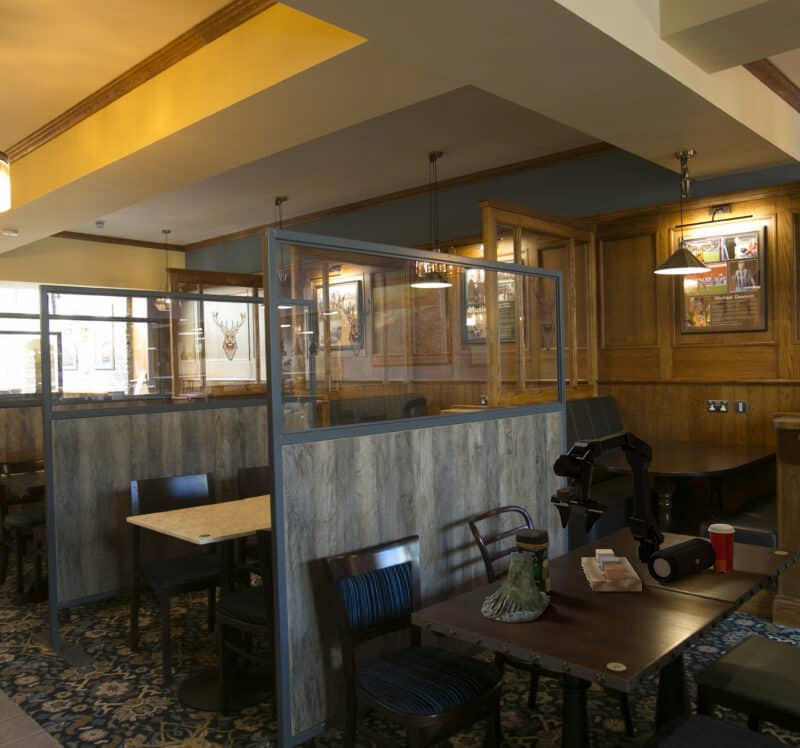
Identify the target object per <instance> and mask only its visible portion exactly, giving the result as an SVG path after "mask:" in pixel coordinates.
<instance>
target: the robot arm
mask: <svg viewBox="0 0 800 748" xmlns="http://www.w3.org/2000/svg"><path fill="white" fill-rule="evenodd" d="M618 447H619V449H620V450H621V451H622V452H623V454H624V455H625V460H626V463H627V464H628V466H629V468H630V469H631V474H632V475H631V476H632V488H633V501H634V514H633V516H631V517H629V520H628V522H629V531H630V532H631V535H632V538H633V541H634V542H638V544H637V545H636V556H637V559H638V560H639V561H640V563H648V560H649V558H650V557H651V555H652V554H653V553H654V552H656V551H658V550H661V549H660V545H662V544H664V542H665V536H664V534H663V533H662V532H661V531H660V529H659V527H658V522H657V519H656V517H655V516H654V515H653V512H652V509H651V495H650V482H649V468H650V465H651V464H652V462H653V449H652V446H650V444H648V443H647V442H646V441H644V440H642V439H640V438H639V437H637V436H636V435H635V434H633V432H630V431H622V430H620V431H618V432H615V433H612V434H609V435H606V436H602V437H598V438H596V439H595V438H594V439H577V440H576V441H575V442H574V444H573V446H572V447H571V448H570V450H569V451H568V453H567V454H563V453H562V454H559V457H558V458H557V459H555V461H554V463H553V464H552V470H553V472H554V474H555V476H557V477H561V478H567V479H572V480H571V481H569V482H568V484H567V486H566V487H562V488H558V489H556V493H553V494H552V495H551V496H550V503H553V505H552V506H554V507H555V508H556V509H557V510H558V513H559V518H560V522H561V523H560V524H561V529H566V528H567V525H568V523H569V519H570V516H571V512H572V509H573V506H578V507H584V508H586V509H584V510H583V511H584V513H585V516H586V518H585V524H584V525H585V527H584V533H585V534H587V535H588V534H590V531H591V530H592V528H593V527H594V526H595V524H596V523H597V521H598V520H599V518H600V517H601V516H602V515H604V514H605V513H609V512H608V511H609V505H608V503H607V502H603V501H597V500H594V499H593V500H592V498H590V493H591V490H593V489H594V485H592V478H593V469H598V467H599V466H598V464H597V463H596V462H595V460H596V459H597V458H599V457H601V456H602V455H603V453H605V452H606V451H610V450H613V449H615V448H618ZM571 505H572V506H571Z"/></svg>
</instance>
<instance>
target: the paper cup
mask: <svg viewBox="0 0 800 748" xmlns="http://www.w3.org/2000/svg"><path fill="white" fill-rule="evenodd" d="M707 531H708V532H709V542H710V543H711V545H712V547H713V549H714V551H715V556H716V558H715V562H714V564H713V566H712V569H713V571H714V572H715V571H717V572H716V573H719V572H724V573H723V574H726V573H725V572H731V573H733V572H734V557H735V555H734V553H735V547H734V546H735V545H734V544H735V532H736V530H735V528H734V527H733V526H732V525H730V524H725V523H724V524H723V523H714V524H710V525H709V527H708V529H707ZM732 571H733V572H732Z"/></svg>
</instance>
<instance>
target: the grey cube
mask: <svg viewBox="0 0 800 748" xmlns="http://www.w3.org/2000/svg"><path fill="white" fill-rule="evenodd" d="M617 557H618V556H614V557H600V570H601V571H604V565H619V560H618V559H617Z"/></svg>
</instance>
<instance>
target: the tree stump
mask: <svg viewBox="0 0 800 748" xmlns="http://www.w3.org/2000/svg"><path fill="white" fill-rule="evenodd" d="M532 560H533V556H531V555H526V554H521V553H518V552H513V551H511V552H510V561H509V567H508V573H507V577H506V579H505V580H504V581H503V582H502V583H501V584H500V587H499V588H498V589H497V590H496V592H494V593H493V594H491V596H490V595H489V596H486V597H485V601H484V602H483V604H482V608H481V610H480V613H481V614H482V615H483V617H484V618H486V619H488V620H491V621H495V622H498V623H499V622H500V623H505V624H506V623H507V624H509V623H510V624H514V623H515V624H518V623H519V624H520V623H525V622H533V621H535V620H537V619H539V617H540V616H541V615H542V614H543V612H545V610H546V609H547V608H548V607H549V603H550V602H551V599H550V598H551V596H549V595H547V593H546V594H545V593H543V592H539V589H538V587H537V586H536V584H535V582H534V574H533V561H532Z"/></svg>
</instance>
